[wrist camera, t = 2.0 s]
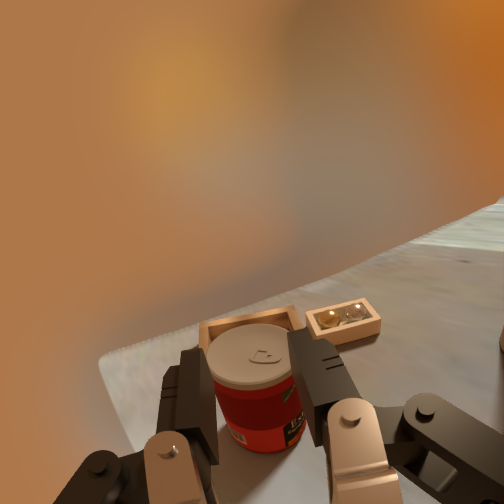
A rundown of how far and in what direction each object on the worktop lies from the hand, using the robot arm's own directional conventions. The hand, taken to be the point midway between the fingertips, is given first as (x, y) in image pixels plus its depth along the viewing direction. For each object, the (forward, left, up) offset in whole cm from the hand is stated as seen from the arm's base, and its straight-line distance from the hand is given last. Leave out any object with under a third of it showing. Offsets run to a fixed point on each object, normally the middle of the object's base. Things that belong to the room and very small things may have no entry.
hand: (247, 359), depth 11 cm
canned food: (0, -11, -20) cm, 23 cm away
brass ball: (-11, -24, -19) cm, 33 cm away
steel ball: (-14, -24, -19) cm, 34 cm away
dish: (-12, -24, -20) cm, 34 cm away
